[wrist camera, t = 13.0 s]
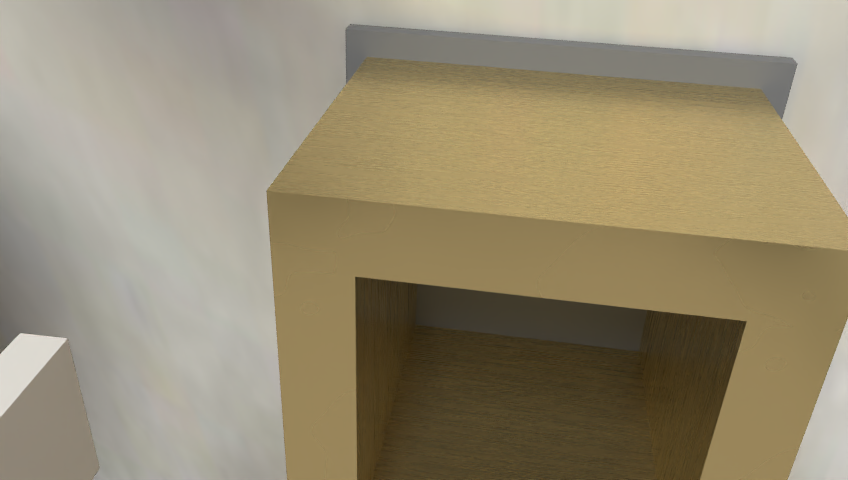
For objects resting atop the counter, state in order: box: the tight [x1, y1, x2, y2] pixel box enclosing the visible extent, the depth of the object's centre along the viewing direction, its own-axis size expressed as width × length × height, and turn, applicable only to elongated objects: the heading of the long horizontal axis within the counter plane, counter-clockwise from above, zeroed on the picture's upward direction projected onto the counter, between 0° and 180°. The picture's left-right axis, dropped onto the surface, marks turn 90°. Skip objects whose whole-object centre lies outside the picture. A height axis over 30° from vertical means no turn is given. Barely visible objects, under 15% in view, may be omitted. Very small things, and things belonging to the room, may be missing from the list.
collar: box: [267, 57, 848, 480], centre depth 15 cm, size 8×8×6 cm
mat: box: [346, 24, 797, 351], centre depth 18 cm, size 9×9×1 cm
